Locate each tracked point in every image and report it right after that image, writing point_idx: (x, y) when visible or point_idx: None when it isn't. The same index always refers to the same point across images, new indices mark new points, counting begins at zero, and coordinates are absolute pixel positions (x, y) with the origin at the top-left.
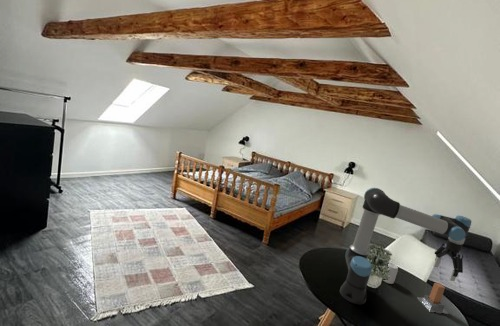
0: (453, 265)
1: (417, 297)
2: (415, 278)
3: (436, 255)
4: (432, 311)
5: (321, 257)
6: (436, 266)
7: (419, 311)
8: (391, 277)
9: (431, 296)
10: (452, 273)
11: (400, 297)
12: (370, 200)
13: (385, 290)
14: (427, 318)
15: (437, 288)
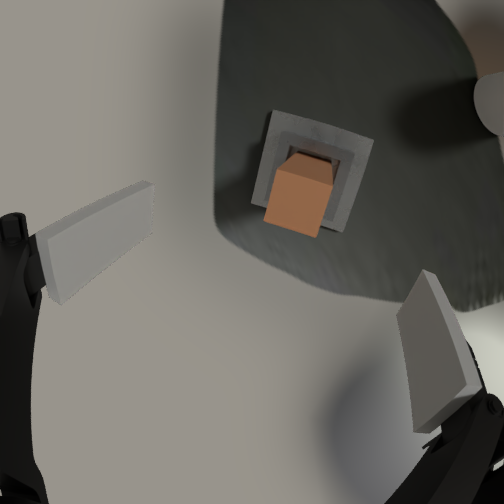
0: (6, 294)
1: (371, 139)
2: (471, 293)
3: (498, 405)
4: (269, 124)
5: None
6: (411, 299)
7: (279, 57)
8: (493, 82)
9: (318, 163)
10: (77, 213)
11: (380, 44)
12: None
13: (428, 16)
14: (235, 60)
15: (287, 167)
